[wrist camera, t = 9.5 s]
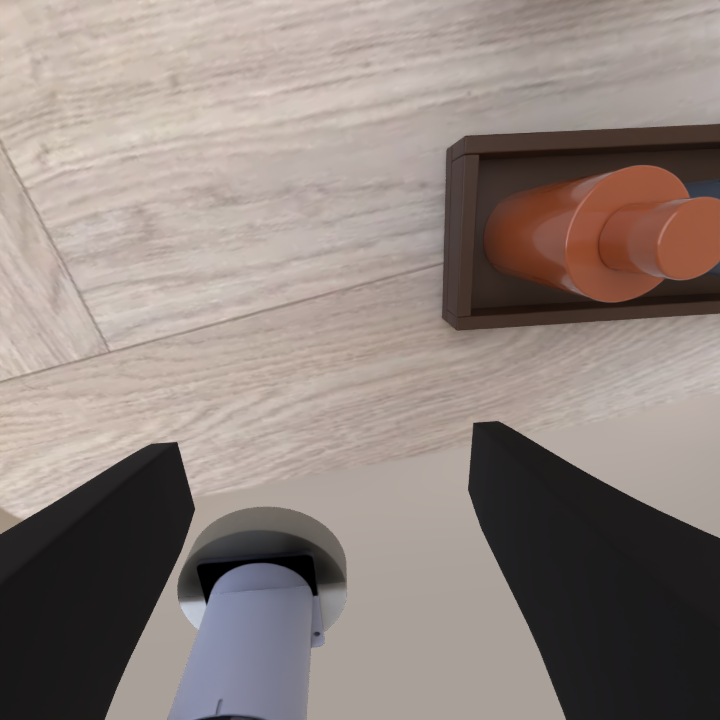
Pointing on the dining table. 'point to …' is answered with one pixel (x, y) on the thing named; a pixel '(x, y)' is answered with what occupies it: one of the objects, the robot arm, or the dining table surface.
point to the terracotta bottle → (605, 233)
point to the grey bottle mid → (712, 189)
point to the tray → (544, 166)
